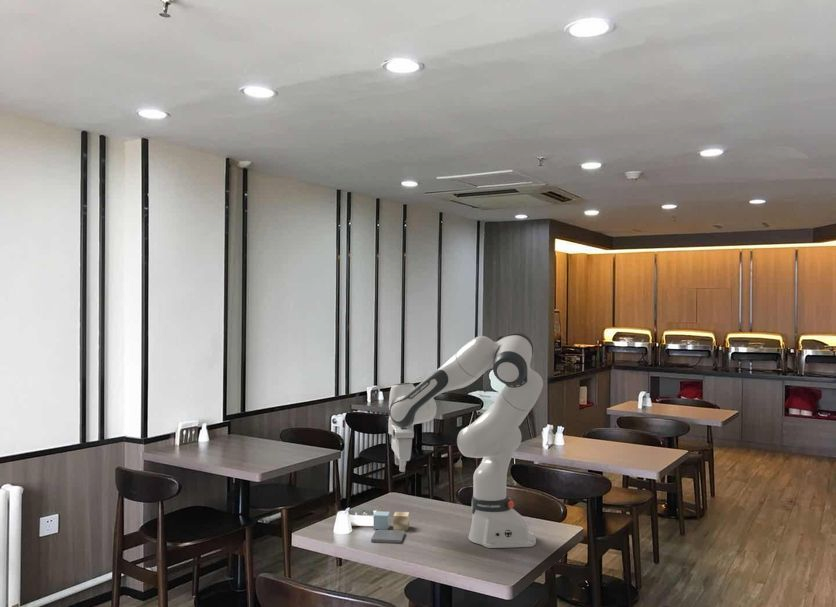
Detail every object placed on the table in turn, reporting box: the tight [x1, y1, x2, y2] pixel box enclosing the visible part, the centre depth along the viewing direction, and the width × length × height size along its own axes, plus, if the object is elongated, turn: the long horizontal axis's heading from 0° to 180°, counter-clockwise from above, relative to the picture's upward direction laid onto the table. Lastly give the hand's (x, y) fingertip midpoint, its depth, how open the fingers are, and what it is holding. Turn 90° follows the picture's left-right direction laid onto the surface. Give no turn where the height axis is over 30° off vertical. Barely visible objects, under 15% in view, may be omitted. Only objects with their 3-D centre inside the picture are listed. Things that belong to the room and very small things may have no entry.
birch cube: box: [392, 511, 410, 532], centre depth 238 cm, size 5×5×5 cm
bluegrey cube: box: [373, 510, 391, 530], centre depth 239 cm, size 5×5×5 cm
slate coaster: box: [370, 529, 406, 544], centre depth 228 cm, size 10×10×1 cm
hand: (399, 468), depth 237 cm, fingers open, 8 cm apart
